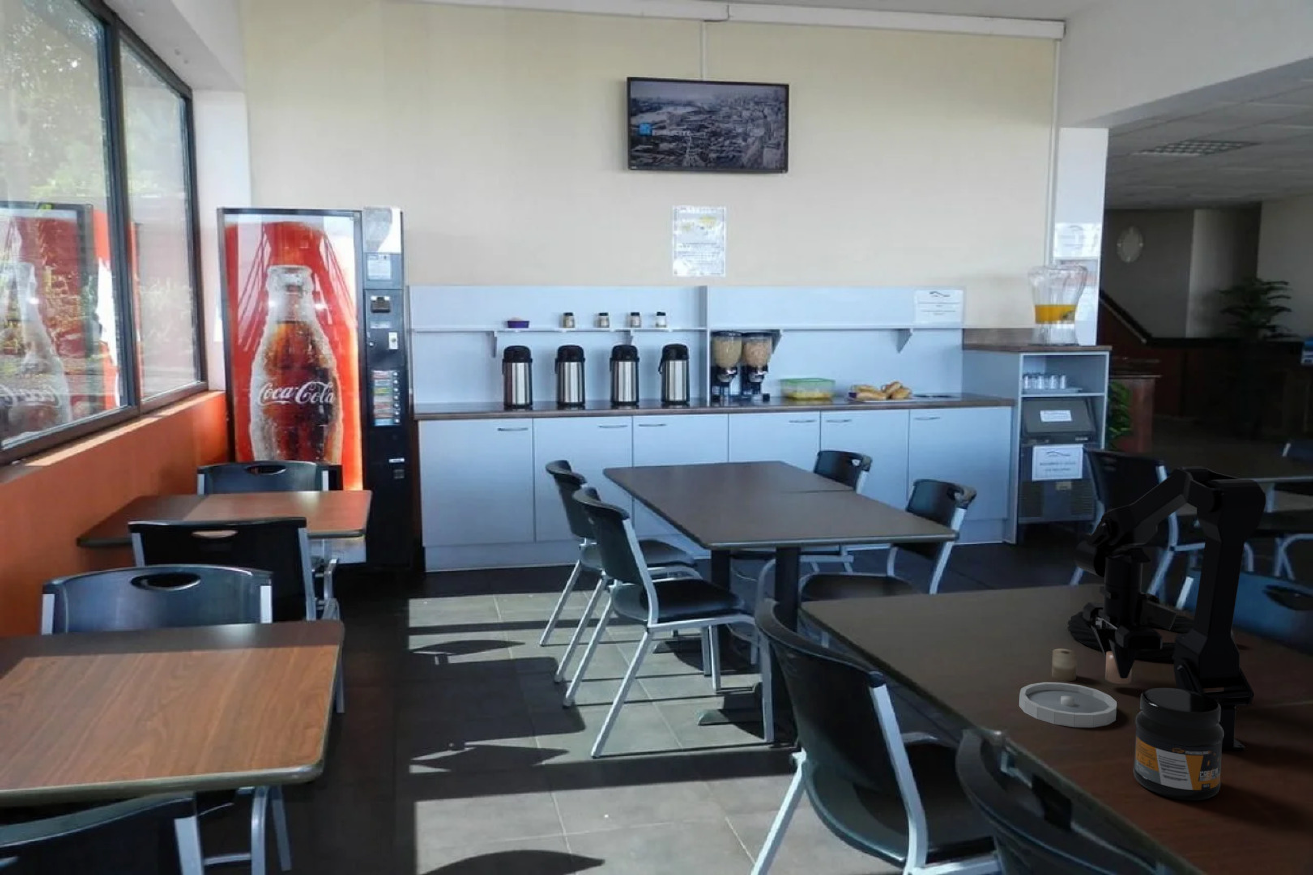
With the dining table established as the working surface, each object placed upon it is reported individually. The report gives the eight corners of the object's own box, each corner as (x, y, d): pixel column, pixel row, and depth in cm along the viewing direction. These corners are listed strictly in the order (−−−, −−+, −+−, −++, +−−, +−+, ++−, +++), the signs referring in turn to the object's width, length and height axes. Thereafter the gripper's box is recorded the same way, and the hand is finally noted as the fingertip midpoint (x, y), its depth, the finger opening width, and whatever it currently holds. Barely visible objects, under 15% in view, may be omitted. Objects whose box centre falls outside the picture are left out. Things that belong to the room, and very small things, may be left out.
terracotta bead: (1134, 684, 171) (1136, 658, 170) (1110, 683, 171) (1111, 657, 170) (1125, 676, 175) (1126, 650, 174) (1101, 675, 175) (1102, 650, 174)
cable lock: (1056, 601, 216) (1209, 609, 210) (1055, 619, 216) (1208, 627, 210) (1083, 640, 189) (1259, 650, 183) (1082, 660, 189) (1258, 670, 183)
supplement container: (1170, 807, 130) (1175, 717, 129) (1115, 773, 140) (1119, 689, 139) (1239, 799, 133) (1244, 710, 131) (1180, 765, 143) (1184, 683, 142)
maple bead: (1079, 681, 177) (1080, 655, 177) (1056, 680, 177) (1057, 655, 177) (1071, 673, 181) (1072, 648, 181) (1048, 673, 181) (1049, 648, 181)
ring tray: (1131, 728, 156) (1131, 715, 156) (1036, 726, 157) (1036, 714, 157) (1095, 694, 170) (1096, 683, 170) (1008, 693, 171) (1009, 681, 171)
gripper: (1198, 599, 161) (1192, 694, 163) (1147, 571, 180) (1143, 657, 182) (1126, 598, 162) (1122, 693, 164) (1083, 571, 180) (1079, 656, 182)
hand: (1118, 673), depth 173 cm, fingers closed on terracotta bead, 4 cm apart
